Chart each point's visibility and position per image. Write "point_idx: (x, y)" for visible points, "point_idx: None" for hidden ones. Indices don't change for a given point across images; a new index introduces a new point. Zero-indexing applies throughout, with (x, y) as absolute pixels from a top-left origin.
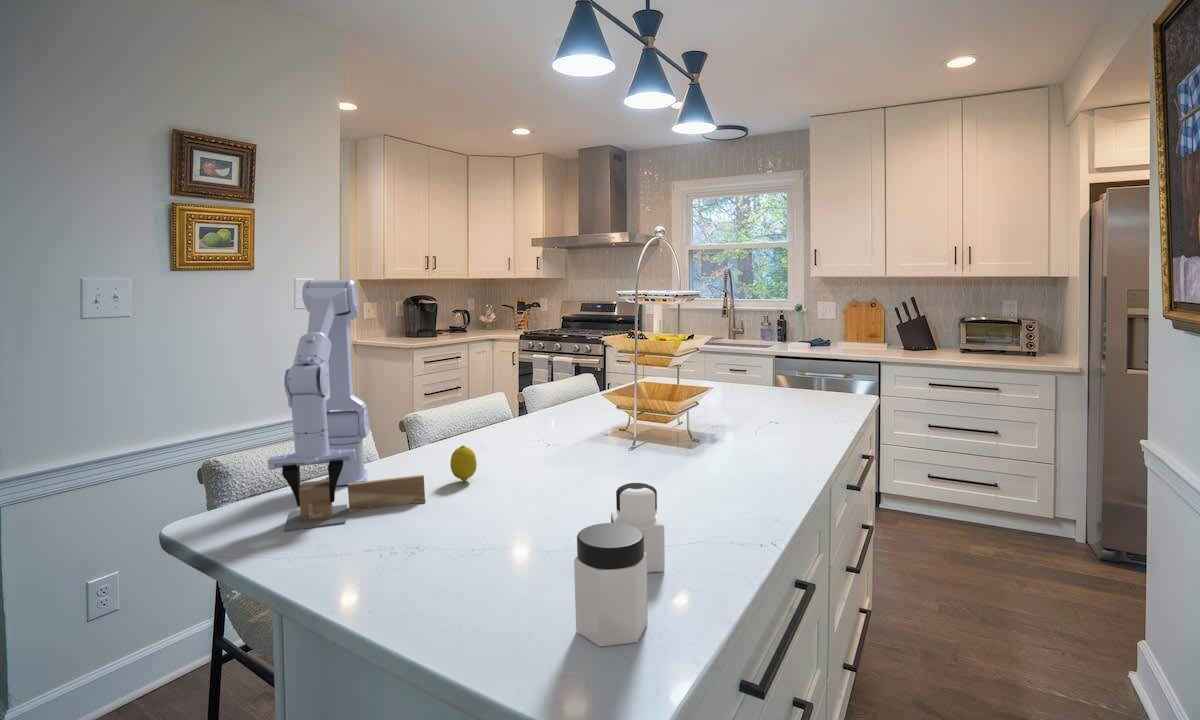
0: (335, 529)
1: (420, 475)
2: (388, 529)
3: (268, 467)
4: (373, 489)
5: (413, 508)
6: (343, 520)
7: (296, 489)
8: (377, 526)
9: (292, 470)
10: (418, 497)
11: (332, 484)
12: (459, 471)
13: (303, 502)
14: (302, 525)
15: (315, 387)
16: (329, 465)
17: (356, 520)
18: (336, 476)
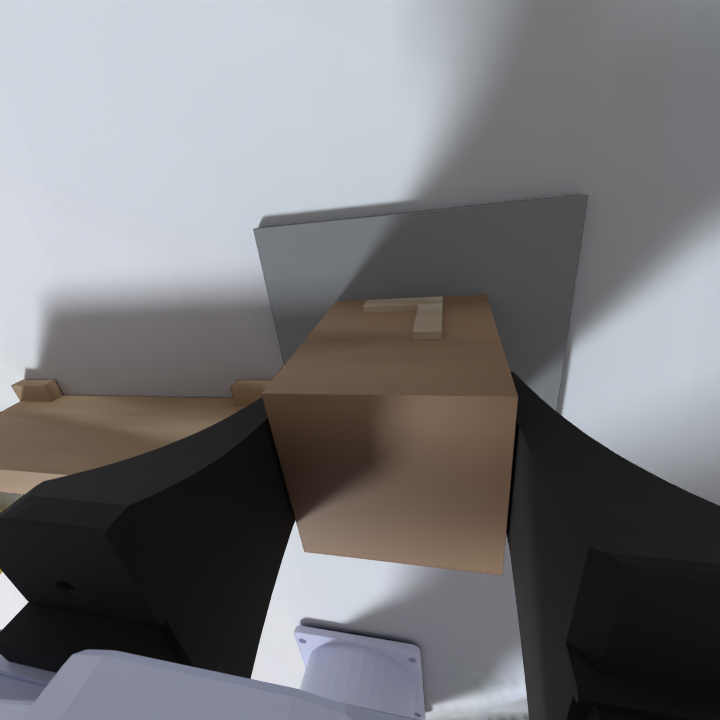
0: (284, 141)
1: None
2: (3, 51)
3: None
4: (133, 449)
5: (37, 333)
6: (267, 254)
7: (540, 431)
8: (81, 125)
9: (661, 668)
10: (32, 404)
11: (240, 425)
12: None
13: (473, 342)
14: (475, 241)
15: None
16: (131, 598)
17: (216, 259)
18: (153, 457)
